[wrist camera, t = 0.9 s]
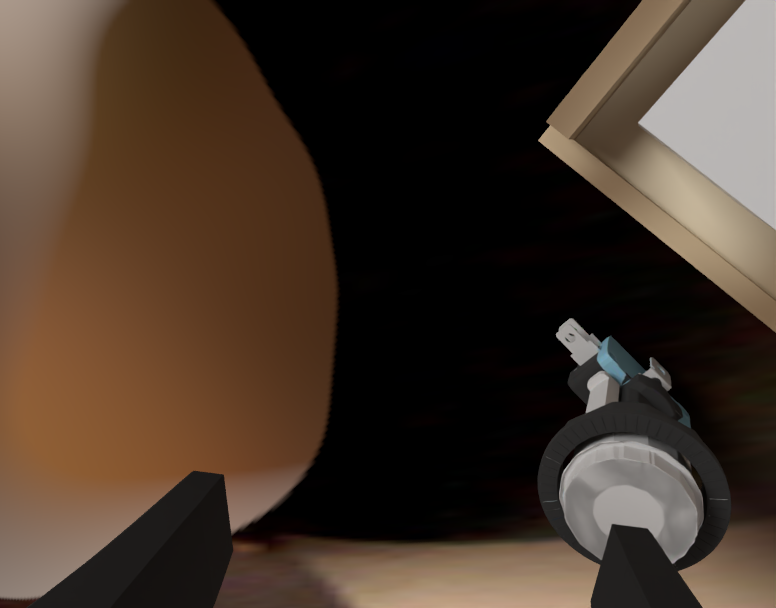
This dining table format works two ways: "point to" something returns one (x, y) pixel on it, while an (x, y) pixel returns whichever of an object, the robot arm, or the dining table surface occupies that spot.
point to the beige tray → (663, 150)
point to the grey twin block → (728, 111)
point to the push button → (630, 459)
